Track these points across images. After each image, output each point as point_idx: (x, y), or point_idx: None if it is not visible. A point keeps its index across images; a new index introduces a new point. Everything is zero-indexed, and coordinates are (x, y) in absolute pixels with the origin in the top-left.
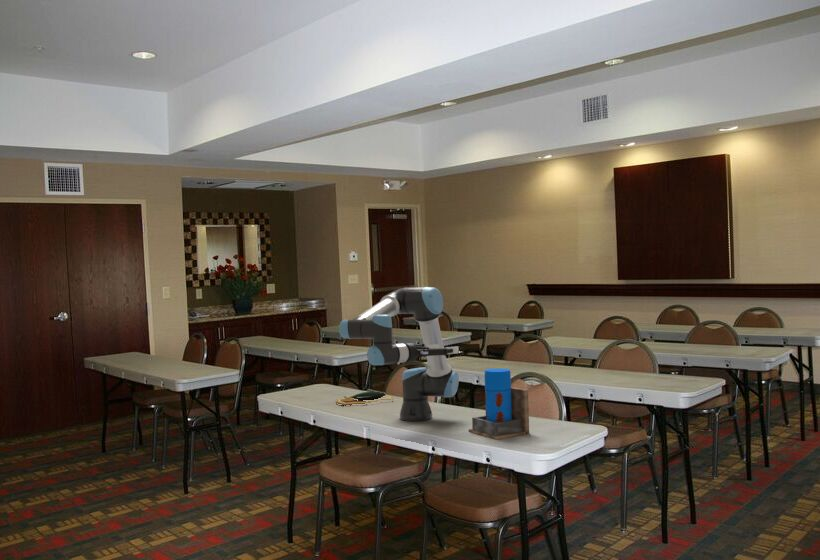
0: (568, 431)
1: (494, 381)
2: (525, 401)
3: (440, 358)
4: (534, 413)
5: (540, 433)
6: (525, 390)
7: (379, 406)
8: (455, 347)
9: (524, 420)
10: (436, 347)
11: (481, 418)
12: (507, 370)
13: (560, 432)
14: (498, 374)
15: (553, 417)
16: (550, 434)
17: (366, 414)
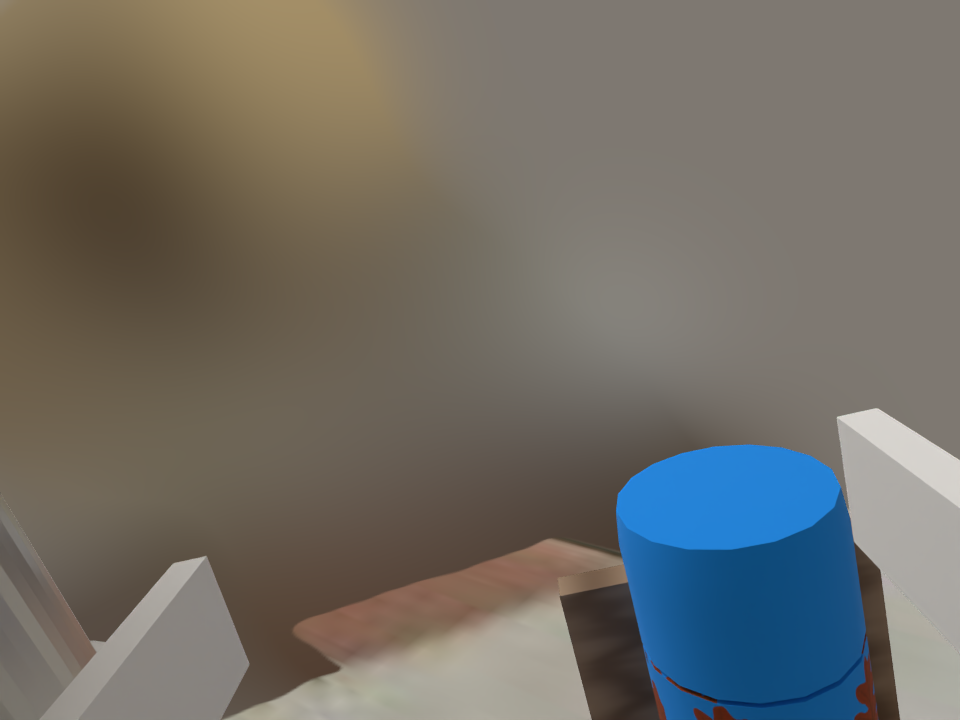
0: (887, 600)
1: (837, 597)
2: (880, 594)
3: (47, 667)
4: (481, 586)
5: (902, 704)
6: None
7: None
8: (922, 451)
9: (890, 706)
10: (197, 650)
11: None
12: (779, 455)
13: (901, 629)
14: (842, 520)
15: (589, 563)
16: (943, 676)
17: None
